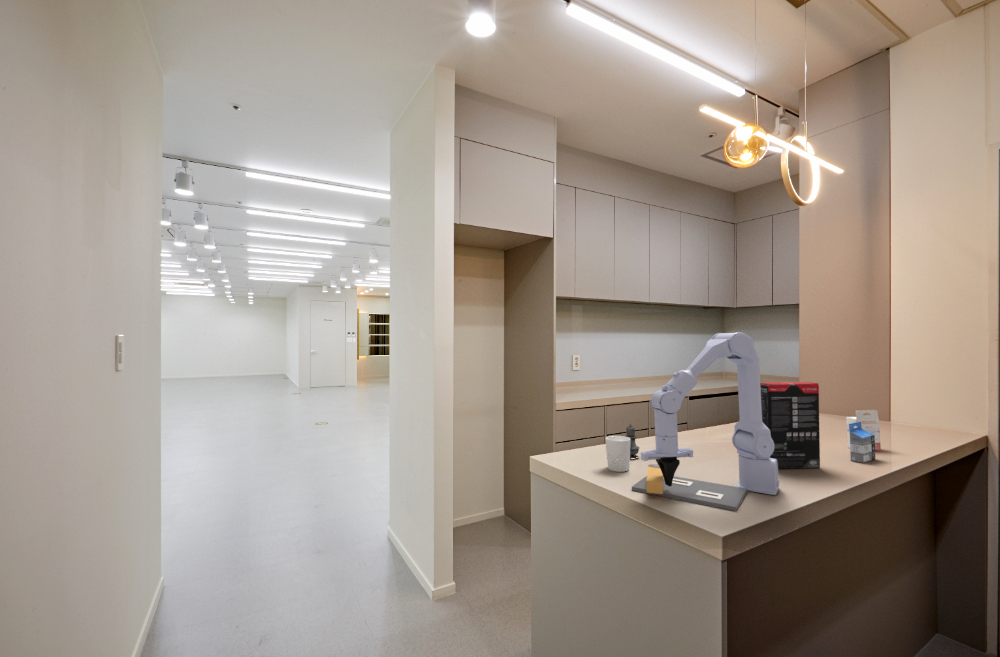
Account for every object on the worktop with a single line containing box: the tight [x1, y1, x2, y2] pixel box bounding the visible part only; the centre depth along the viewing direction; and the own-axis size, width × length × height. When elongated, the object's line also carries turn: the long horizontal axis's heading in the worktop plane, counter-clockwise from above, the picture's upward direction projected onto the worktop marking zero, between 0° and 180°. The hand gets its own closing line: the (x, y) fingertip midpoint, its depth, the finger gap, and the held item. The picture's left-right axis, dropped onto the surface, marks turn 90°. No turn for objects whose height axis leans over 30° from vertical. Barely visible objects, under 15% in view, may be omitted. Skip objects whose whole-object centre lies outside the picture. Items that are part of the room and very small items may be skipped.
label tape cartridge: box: [849, 421, 877, 464], centre depth 146 cm, size 9×4×12 cm, turn 119°
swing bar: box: [646, 463, 663, 494], centre depth 122 cm, size 17×4×3 cm, turn 160°
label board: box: [631, 475, 748, 512], centre depth 119 cm, size 26×16×1 cm, turn 52°
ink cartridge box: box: [845, 409, 882, 452], centre depth 160 cm, size 9×5×15 cm, turn 90°
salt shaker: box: [625, 423, 640, 458], centre depth 155 cm, size 6×6×12 cm
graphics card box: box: [760, 381, 821, 469], centre depth 140 cm, size 17×7×27 cm, turn 92°
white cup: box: [604, 435, 631, 473], centre depth 141 cm, size 8×8×10 cm
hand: (668, 485), depth 118 cm, fingers closed
